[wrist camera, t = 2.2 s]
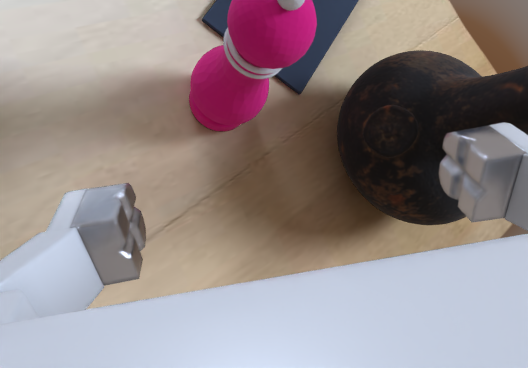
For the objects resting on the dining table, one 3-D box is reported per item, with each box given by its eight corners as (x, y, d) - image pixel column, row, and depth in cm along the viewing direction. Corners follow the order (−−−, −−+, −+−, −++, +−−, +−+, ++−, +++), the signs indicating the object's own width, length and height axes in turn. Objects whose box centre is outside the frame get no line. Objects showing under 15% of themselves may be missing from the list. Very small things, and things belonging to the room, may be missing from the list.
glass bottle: (307, 77, 46) (550, -149, 20) (433, 82, 52) (746, -87, 26) (326, 235, 44) (628, 213, 18) (456, 221, 50) (824, 189, 24)
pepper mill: (248, 69, 44) (342, -64, 25) (256, 135, 43) (360, 47, 24) (180, 68, 41) (229, -81, 23) (187, 137, 40) (244, 42, 22)
